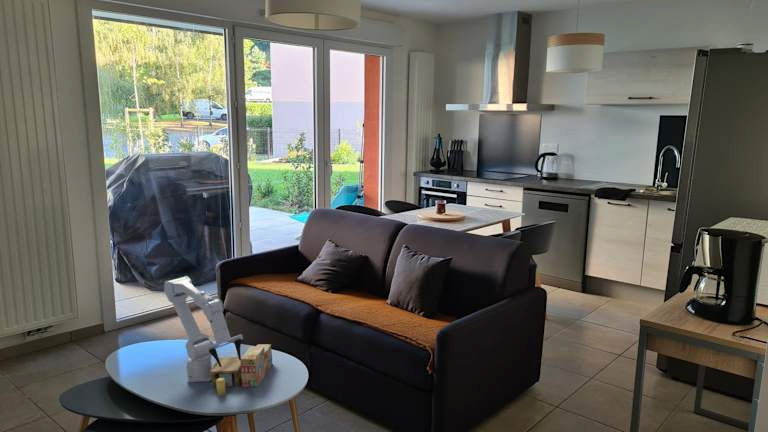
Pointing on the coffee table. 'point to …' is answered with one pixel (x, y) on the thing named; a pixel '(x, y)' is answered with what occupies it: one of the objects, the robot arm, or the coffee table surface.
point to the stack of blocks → (255, 364)
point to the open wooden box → (227, 369)
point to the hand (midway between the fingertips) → (230, 363)
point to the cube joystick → (224, 382)
